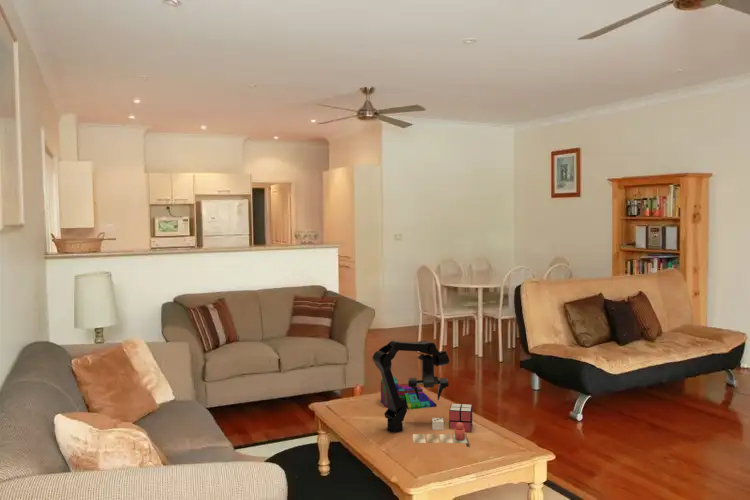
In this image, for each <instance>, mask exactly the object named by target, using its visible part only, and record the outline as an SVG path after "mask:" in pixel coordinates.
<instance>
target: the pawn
mask: <svg viewBox="0 0 750 500" xmlns="http://www.w3.org/2000/svg"><path fill="white" fill-rule="evenodd" d="M463 427H464V425H463V423H461V422H458V423H457V424H456V428H455V429H454V434H455V439H456V440H464V439H465V434H466V432H465V428H463Z"/></svg>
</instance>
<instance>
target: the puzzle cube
mask: <svg viewBox="0 0 750 500" xmlns="http://www.w3.org/2000/svg"><path fill="white" fill-rule="evenodd" d="M449 407H450V408H449V415H448V416H449V419H448V420H449V423H448V424H449V429H450V430H455V428H456V424H457V423H458V422H461V423H463V425H464V427H463V428H465V433H472V429H473V405H472V404H466V403H464V404H463V403H462V404H461V403H451V404H450V406H449Z"/></svg>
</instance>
